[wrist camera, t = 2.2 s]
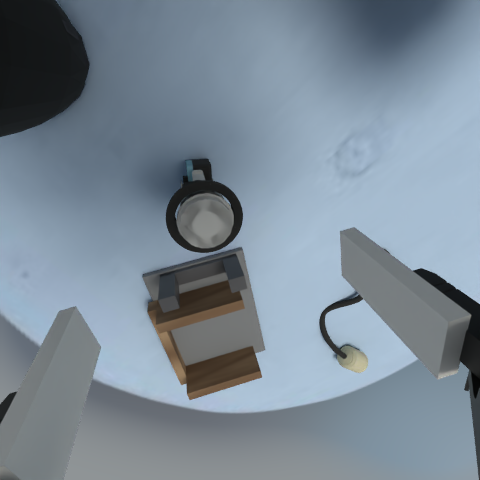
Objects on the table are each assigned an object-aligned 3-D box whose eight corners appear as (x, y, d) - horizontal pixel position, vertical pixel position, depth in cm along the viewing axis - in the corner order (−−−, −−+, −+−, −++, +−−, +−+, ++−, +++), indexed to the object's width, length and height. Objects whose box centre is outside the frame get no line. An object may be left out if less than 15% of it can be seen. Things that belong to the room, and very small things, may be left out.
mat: (143, 274, 32) (142, 277, 31) (241, 247, 33) (242, 249, 32) (185, 370, 39) (185, 374, 39) (264, 346, 40) (265, 350, 40)
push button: (225, 219, 31) (245, 270, 22) (173, 224, 30) (172, 279, 21) (223, 154, 28) (245, 183, 19) (164, 156, 27) (160, 188, 18)
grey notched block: (159, 274, 31) (157, 300, 28) (236, 253, 32) (244, 275, 28) (164, 286, 32) (163, 312, 28) (238, 265, 33) (247, 288, 29)
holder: (148, 302, 33) (145, 328, 29) (235, 277, 33) (242, 299, 30) (180, 374, 39) (181, 402, 35) (254, 351, 39) (262, 377, 36)
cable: (286, 318, 39) (296, 337, 36) (383, 234, 36) (402, 246, 33) (347, 364, 46) (359, 383, 43) (433, 296, 43) (452, 312, 40)
